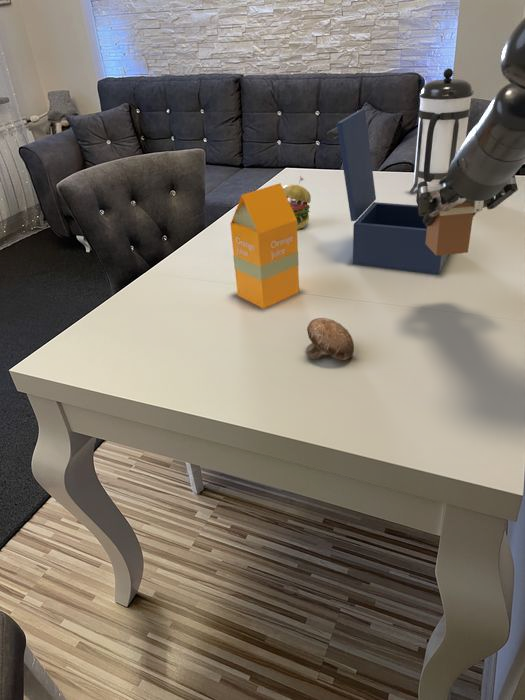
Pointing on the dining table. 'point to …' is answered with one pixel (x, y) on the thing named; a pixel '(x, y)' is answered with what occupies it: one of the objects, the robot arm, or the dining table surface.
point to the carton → (451, 230)
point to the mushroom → (329, 340)
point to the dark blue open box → (394, 240)
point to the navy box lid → (356, 162)
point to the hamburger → (298, 202)
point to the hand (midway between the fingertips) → (444, 218)
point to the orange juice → (265, 247)
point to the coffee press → (440, 127)
